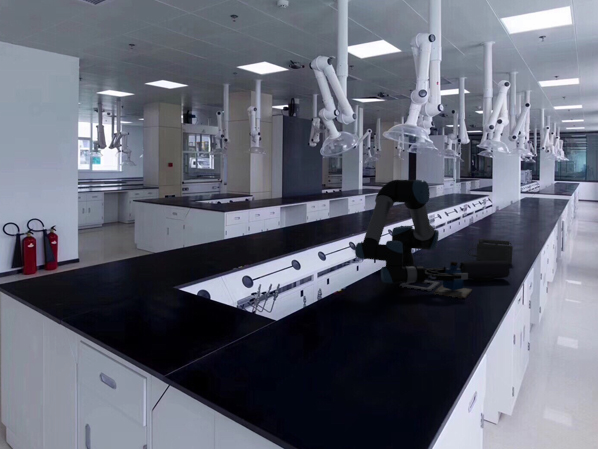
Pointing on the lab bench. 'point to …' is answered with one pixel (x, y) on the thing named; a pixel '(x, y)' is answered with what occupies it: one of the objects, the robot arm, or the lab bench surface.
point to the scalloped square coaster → (422, 287)
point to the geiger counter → (493, 251)
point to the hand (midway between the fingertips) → (463, 273)
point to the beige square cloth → (453, 292)
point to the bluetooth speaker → (485, 270)
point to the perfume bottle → (456, 283)
